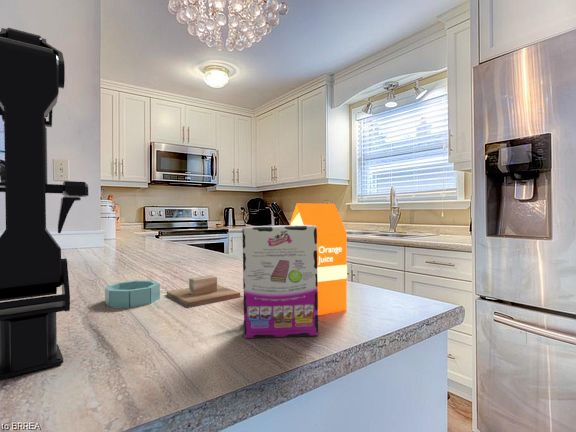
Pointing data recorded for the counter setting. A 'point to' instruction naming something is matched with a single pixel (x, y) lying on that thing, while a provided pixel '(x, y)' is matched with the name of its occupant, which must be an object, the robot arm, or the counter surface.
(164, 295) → the mat
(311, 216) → the orange juice
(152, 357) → the counter surface
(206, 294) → the lid
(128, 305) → the bowl
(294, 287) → the candy bar box
